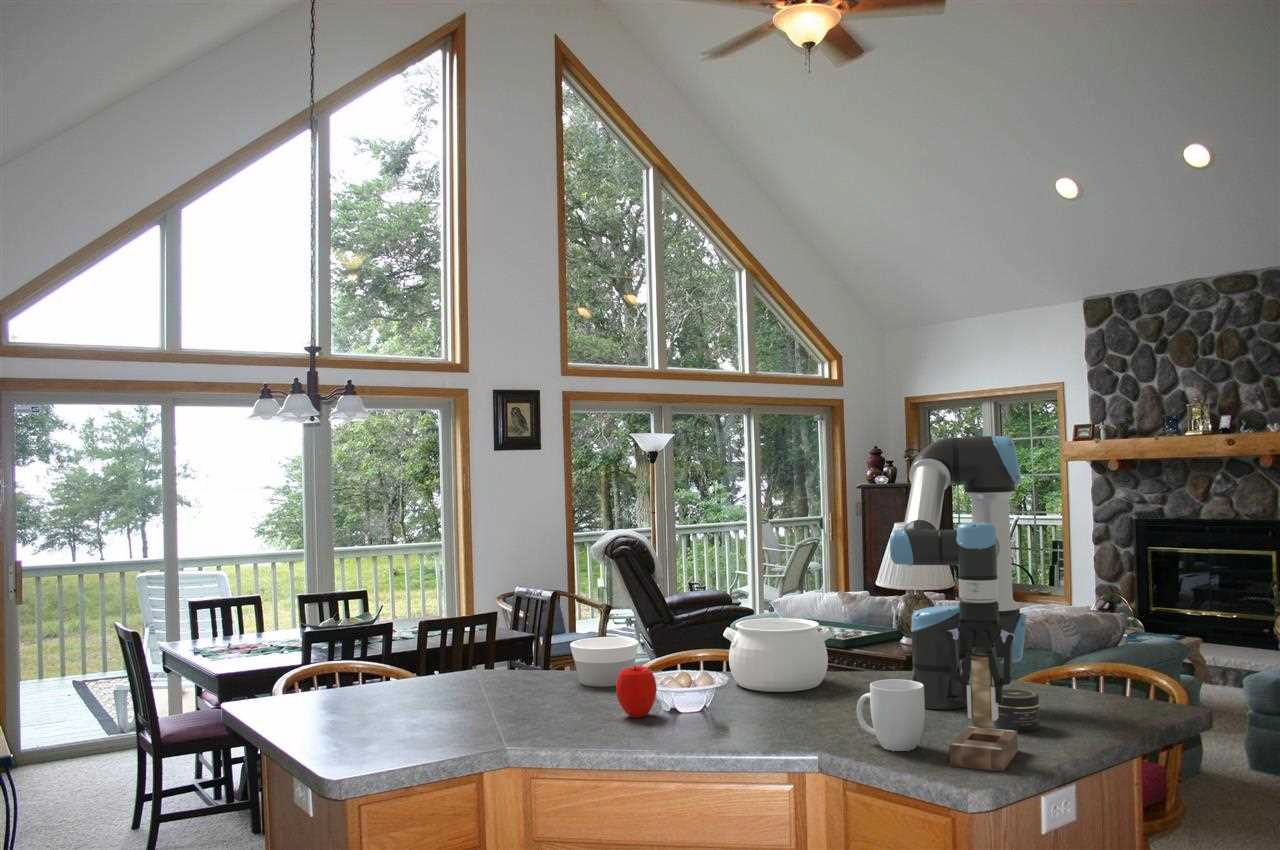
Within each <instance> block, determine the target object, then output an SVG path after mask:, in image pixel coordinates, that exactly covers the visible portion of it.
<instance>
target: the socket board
mask: <svg viewBox="0 0 1280 850" xmlns="http://www.w3.org/2000/svg"><path fill="white" fill-rule="evenodd" d="M1018 745H1019V743H1018V732H1017V731H1013V730H1003V729H998V728H977V727H974V726H969V725H967V726H965V728H963V730H962V731H961V732H960V733H959V734H958V735H957V736H956V737H955V738H954V739H953V740H952V742H950V743H949V745H948V746H949V747H948V750H949V753H948V754H949V766H951V767H959V768H967V769H976V770H984V771H985V770H986V771H992V772H993V771H994V772H1004V771H1005V770H1006V768H1007V767H1008V766H1009V764H1010V763H1011V761H1012V759H1014V757H1015V756H1016V754H1017V753H1018V751H1019V750H1018V749H1019V746H1018Z"/></svg>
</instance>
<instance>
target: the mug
mask: <svg viewBox="0 0 1280 850" xmlns="http://www.w3.org/2000/svg"><path fill="white" fill-rule="evenodd" d="M866 699H869V702H870V707H869V709H870V715H871V722H872V726H873V727H871V726H869V725H868V724H867V722H866V720H865V719H864V714H863V713H864V712H863V707H864V703H865V701H866ZM925 711H926V708H925V702H924V685H923V684H922V683H919V682H916V681H911V680H910V679H909V680H908V679H879V680H876V681H875V680H874V681H872V682H870V684H869V692H867V693H864V694H862V695H861V696H860V697H859V699H858V702H857V704H856V718H857V721H858V723H859V726H861V728H862V729H863V730H864V731H866V732H867V733H868V734H872V735H874V736H876V739H877V740H878V742H879V744H880V746H881V747H882V748H883V749H884V750H886V751H889V750H891V751H890V752H895V751H907V752H911V751H910V750H912V751H914V750H915V749H916V748H917V747H918V745H919V742H920V740H921V738H922V734H923V730H924V727H925V726H924V725H925V715H926V713H925ZM913 749H914V750H913Z"/></svg>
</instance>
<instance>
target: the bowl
mask: <svg viewBox="0 0 1280 850" xmlns="http://www.w3.org/2000/svg"><path fill="white" fill-rule="evenodd" d="M639 644H640V642H639V640H637V639H634V638H630V637H619V636H601V637H600V636H599V637H597V636H596V637H588V638H581V639H578V640H574V641H572V642H571V643H570V644H569V646H570V650H571V654H572V657H573V661H574V664H575V668H576V669H575V670H576V673H577V675H578V679H579V682H580V684H582V685H583V686H587V687H588V686H589V687H599V688H600V687H616V682H617V678H618V676H619V673H620V672H621V671H622V670H623V669H626V668H631V667H634V666H635V661H636V657H637V654H638V648H639Z"/></svg>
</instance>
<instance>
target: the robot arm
mask: <svg viewBox="0 0 1280 850" xmlns="http://www.w3.org/2000/svg"><path fill="white" fill-rule="evenodd" d="M1019 464H1020V463H1019V458H1018V454H1017V449H1016V445H1015V441H1014V440H1013V438H1011V437H1010V436H1005V435H1003V436H1002V435H987V436H986V435H985V436H982V435H981V436H965V437H964V436H963V437H961V436H960V437H954V436H951V437H945V438H941V439H938V440H936V441H934V442H932V443H930V444H928V445H927V446H925V447H924V449H922V450H921V451H920V452H919V453H918V454H917V455H916V456H915V457H914V459H913V461H912V463H911V465H910V468H909V472H908V479H909V482H910V485H911V487H910V491H909V497H908V500H907V507H906V512H905V518H904V522H903V528H901V529H895V530H892V532H891V533H890V537H889V553H890V559H891V562H893V563H894V564H895V565H903V566H904V565H906V566H909V567H910V566H911V567H912V566H958V567H957V568H958V596H959V597H958V598H960V599H961V600H960V601H959V602H958V603H959V605H955V604H953V605H949V604H947V605H937V606H929V607H924V608H920V609H918V610H915V611H914V612H913V613H912V615H911V627H910V632H911V643H912V644H911V647H912V672H911V676H910V679H909V680H911V681H916V682H919V683H922V684H923V685H924V702H925V709H929V710H956V709H957V710H958V709H963V708H967V719H972V720H973V716H972V688H971V682H970V681H971V656H972V655H973V654H976V653H982V654H987V656H988V659H989V664H990V668H991V672H992V682H993V684H992V686H991V710H992V720H993V721H996V720H997V719H998V703H1002V701H1003V689H1004V686H1006V685H1010V684H1011V683H1012V682H1013V663H1018V662H1020V661H1021V660H1022V659H1023V655H1024V654H1023V653H1024V646H1025V645H1024V644H1025V636H1026V635H1025V634H1026V632H1025V631H1026V623H1027V613H1024V612H1021V609H1020V607H1021V606H1020V604H1019V603H1018V602H1016V601H1015V600H1014V597H1013V596H1014V593H1013V575H1012V574H1013V572H1012V551H1011V550H1012V549H1011V548H1012V547H1011V546H1012V545H1011V525H1010V523H1011V522H1010V521H1011V520H1010V502H1009V501H1010V498H1011V497H1012V496H1013V495H1014V494H1015V493H1016V486H1018V485H1020V484H1022V477H1021V472H1020V471H1021V470H1020V465H1019ZM949 486H963V487H964V494H965V495H966V496H968V498H970V500H971V501H970V502H971V503H970V504H971V522H961V523H959V524H958V525H957V527H956V529H940V524H941V519H942V512H943V511H942V509H943V502H944V496H945V495H944V494H945V491H946V489H948V487H949ZM999 663H1000V664H1003V676H1002V673H1001V669H1000V664H999Z"/></svg>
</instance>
